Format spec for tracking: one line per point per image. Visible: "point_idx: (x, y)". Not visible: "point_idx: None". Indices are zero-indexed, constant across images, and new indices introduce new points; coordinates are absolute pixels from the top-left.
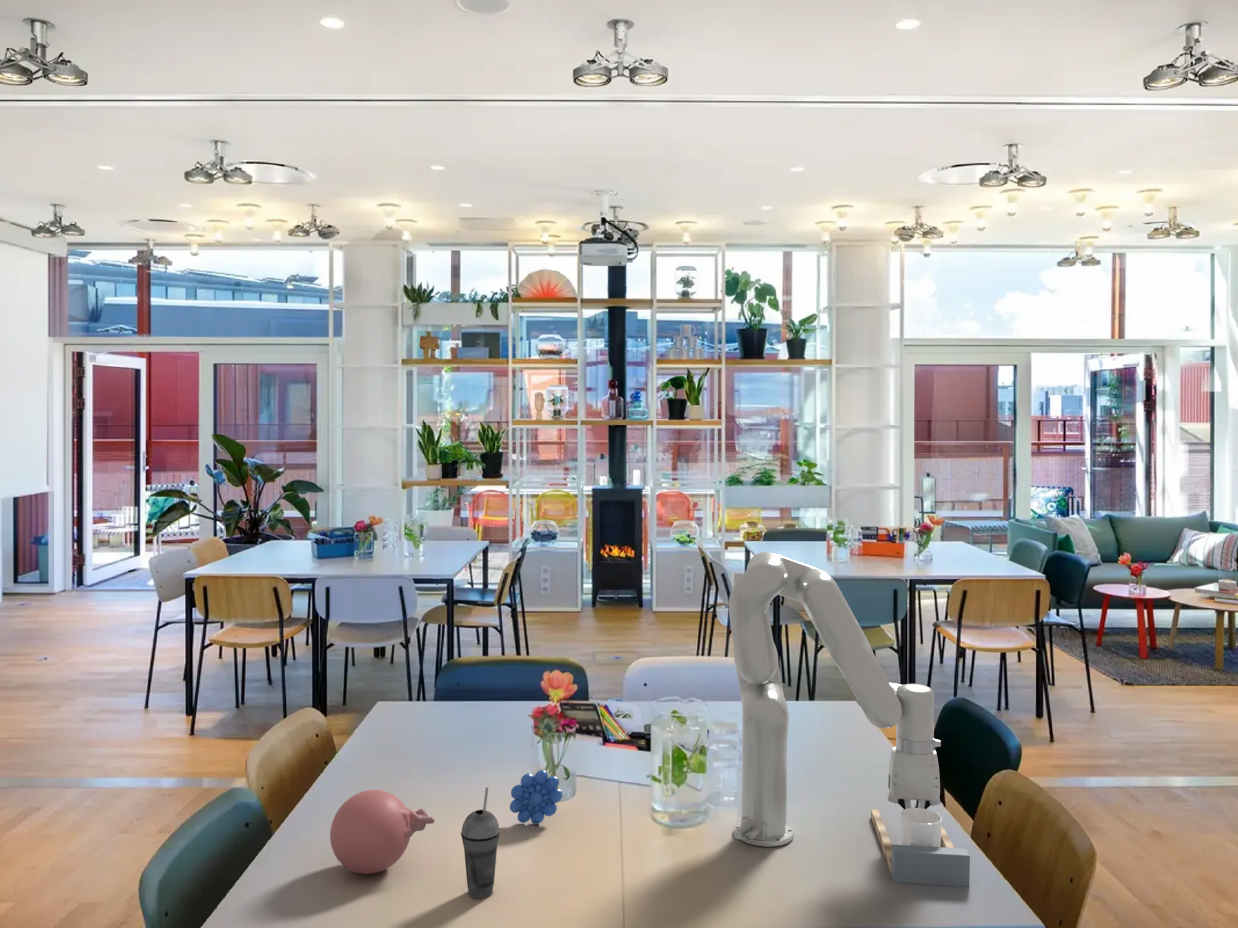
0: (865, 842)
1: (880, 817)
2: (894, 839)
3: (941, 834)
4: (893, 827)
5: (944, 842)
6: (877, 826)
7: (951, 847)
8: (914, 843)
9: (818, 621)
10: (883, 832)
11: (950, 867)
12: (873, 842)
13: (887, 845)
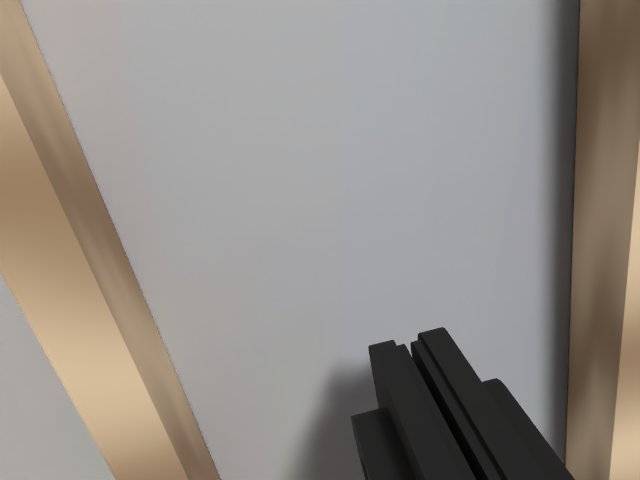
0: (30, 461)
1: (16, 125)
2: (237, 333)
3: (634, 306)
4: (196, 81)
5: (614, 429)
6: (58, 372)
7: (638, 474)
8: None
9: None
10: (147, 461)
11: None
12: (89, 438)
13: None
